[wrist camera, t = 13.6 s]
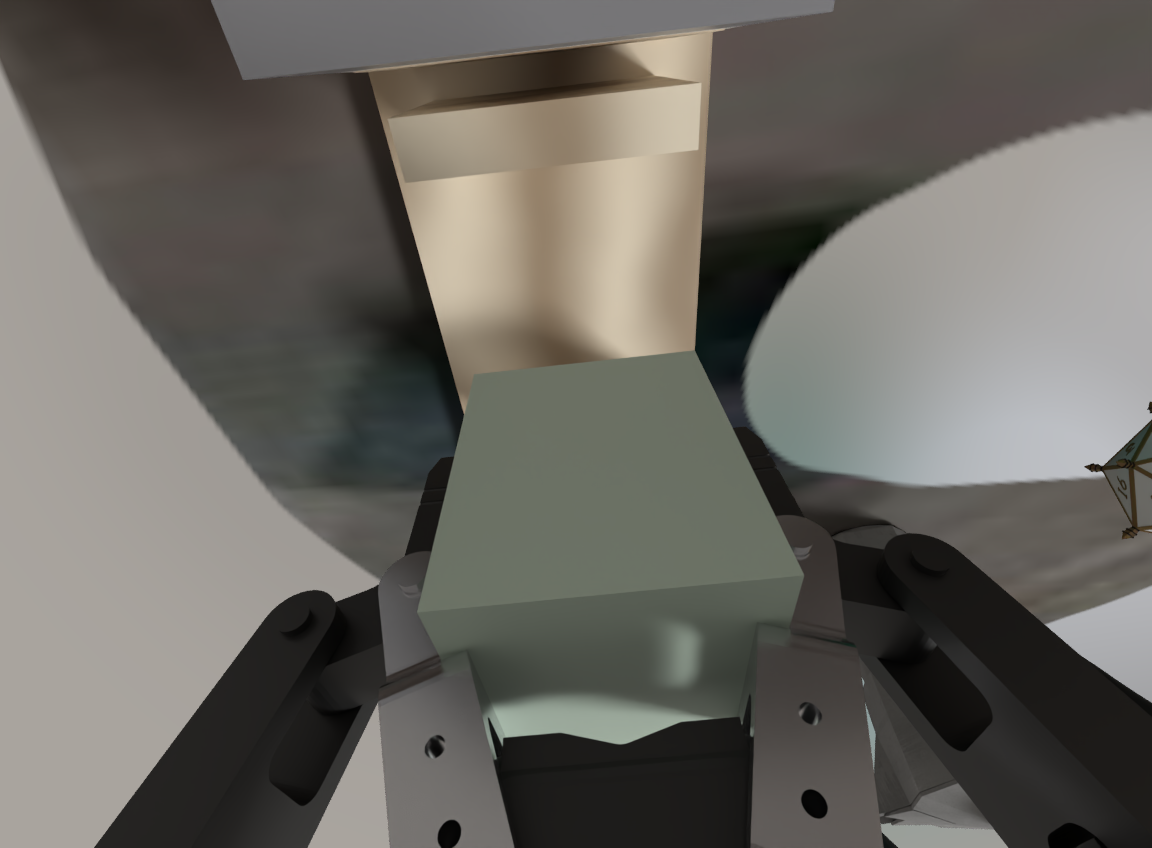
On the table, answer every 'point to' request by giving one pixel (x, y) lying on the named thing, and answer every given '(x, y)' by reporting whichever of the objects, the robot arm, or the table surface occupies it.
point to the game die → (1133, 480)
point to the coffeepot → (917, 743)
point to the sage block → (605, 549)
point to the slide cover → (460, 28)
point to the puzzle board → (555, 198)
